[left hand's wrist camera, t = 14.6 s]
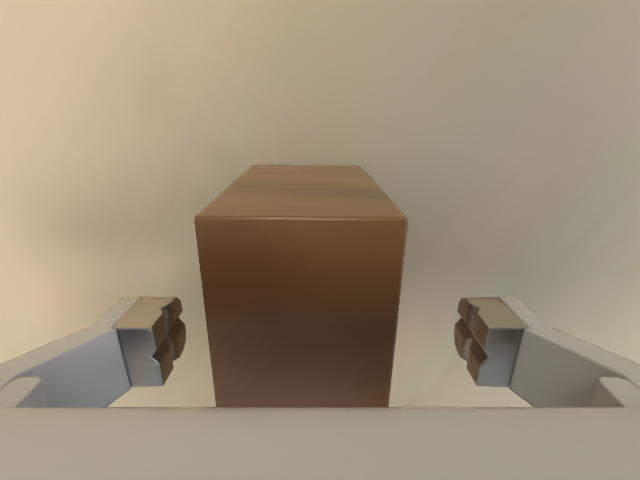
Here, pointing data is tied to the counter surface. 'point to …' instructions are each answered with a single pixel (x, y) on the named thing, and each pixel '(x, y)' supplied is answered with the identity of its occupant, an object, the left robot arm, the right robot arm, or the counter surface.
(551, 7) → the counter surface
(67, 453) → the left robot arm
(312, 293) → the bar
